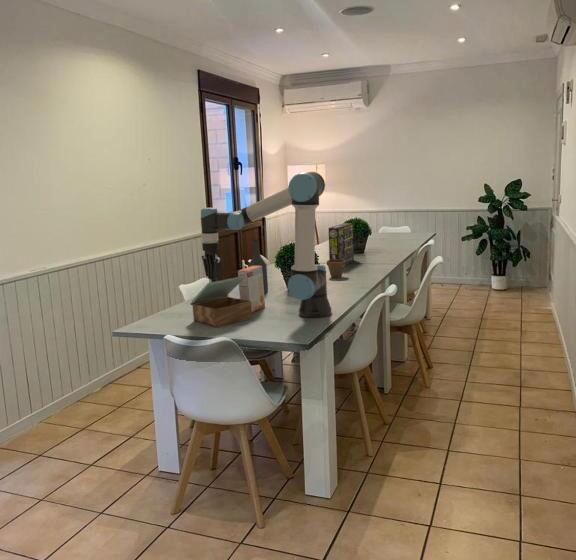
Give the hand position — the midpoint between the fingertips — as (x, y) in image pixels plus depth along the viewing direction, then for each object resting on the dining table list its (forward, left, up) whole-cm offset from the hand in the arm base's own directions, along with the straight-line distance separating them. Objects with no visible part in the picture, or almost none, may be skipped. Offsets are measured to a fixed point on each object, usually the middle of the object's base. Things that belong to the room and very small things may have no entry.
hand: (213, 292), depth 271 cm
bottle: (+26, -48, -12) cm, 56 cm away
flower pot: (+20, -104, -12) cm, 107 cm away
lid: (-5, 0, +1) cm, 5 cm away
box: (+49, -140, -13) cm, 149 cm away
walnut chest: (-7, 0, -12) cm, 14 cm away
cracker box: (-4, -20, -12) cm, 24 cm away
